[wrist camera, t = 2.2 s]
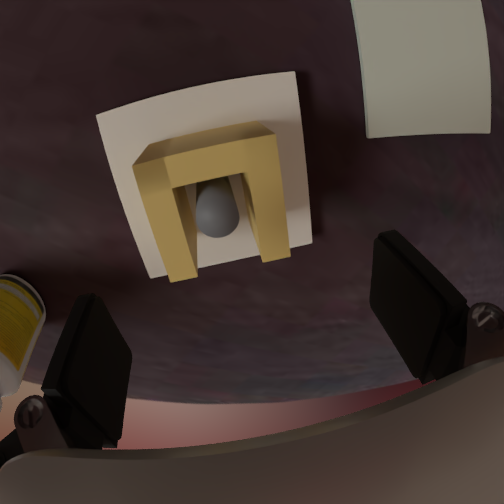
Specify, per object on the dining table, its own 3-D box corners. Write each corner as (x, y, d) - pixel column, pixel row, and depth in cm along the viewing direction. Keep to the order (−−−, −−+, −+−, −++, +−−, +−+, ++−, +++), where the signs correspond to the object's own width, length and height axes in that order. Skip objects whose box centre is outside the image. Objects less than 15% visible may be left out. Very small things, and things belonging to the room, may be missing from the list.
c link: (148, 144, 17) (131, 166, 13) (256, 120, 17) (275, 133, 13) (175, 237, 20) (170, 282, 16) (270, 216, 21) (290, 256, 16)
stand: (100, 113, 16) (57, 130, 10) (290, 71, 17) (331, 69, 11) (151, 270, 22) (141, 332, 17) (308, 236, 23) (341, 289, 18)
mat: (340, -45, 12) (342, -47, 12) (475, -8, 13) (478, -9, 12) (366, 137, 20) (368, 138, 19) (487, 132, 20) (490, 133, 20)
